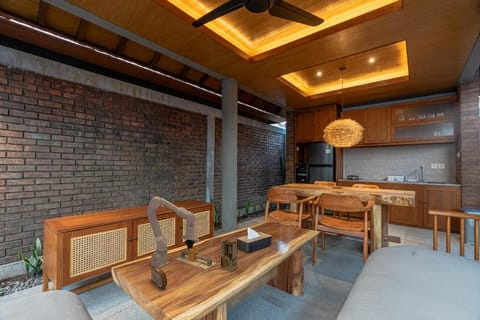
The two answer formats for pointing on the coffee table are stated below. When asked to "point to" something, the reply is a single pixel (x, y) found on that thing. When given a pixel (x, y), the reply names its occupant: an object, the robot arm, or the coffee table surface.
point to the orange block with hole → (192, 252)
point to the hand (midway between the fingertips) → (189, 250)
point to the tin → (159, 277)
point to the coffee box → (229, 255)
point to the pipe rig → (196, 261)
